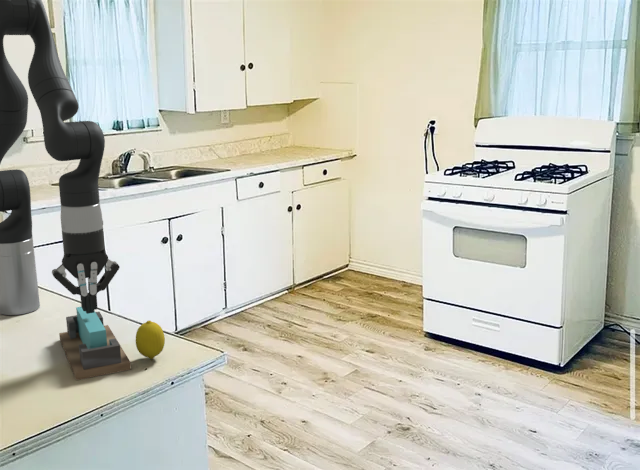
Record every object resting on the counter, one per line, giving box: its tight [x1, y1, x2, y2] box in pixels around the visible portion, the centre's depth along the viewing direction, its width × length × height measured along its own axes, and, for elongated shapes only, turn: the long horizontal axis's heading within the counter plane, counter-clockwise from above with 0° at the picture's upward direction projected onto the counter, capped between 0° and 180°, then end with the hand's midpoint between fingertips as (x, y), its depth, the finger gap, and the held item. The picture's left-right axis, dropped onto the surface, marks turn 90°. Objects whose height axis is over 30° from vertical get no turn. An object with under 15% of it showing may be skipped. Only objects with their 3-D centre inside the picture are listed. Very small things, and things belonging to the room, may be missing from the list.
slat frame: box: [58, 311, 132, 381], centre depth 137 cm, size 22×10×5 cm, turn 28°
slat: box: [75, 306, 107, 349], centre depth 136 cm, size 16×3×6 cm, turn 28°
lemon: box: [135, 320, 166, 360], centre depth 134 cm, size 6×6×8 cm
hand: (89, 312), depth 135 cm, fingers closed
